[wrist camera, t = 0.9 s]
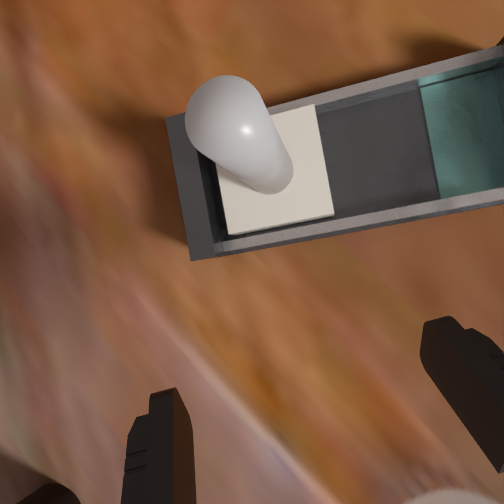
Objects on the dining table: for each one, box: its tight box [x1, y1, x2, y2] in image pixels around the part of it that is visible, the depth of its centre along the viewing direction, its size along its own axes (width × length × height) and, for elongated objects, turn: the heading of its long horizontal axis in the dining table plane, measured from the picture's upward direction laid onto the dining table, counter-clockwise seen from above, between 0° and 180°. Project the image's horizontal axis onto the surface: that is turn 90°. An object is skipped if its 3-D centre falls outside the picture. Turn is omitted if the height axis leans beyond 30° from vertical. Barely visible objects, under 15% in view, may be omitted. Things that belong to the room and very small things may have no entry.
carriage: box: [185, 75, 334, 235], centre depth 23 cm, size 8×8×15 cm
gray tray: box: [165, 37, 504, 261], centre depth 28 cm, size 11×26×6 cm, turn 101°
